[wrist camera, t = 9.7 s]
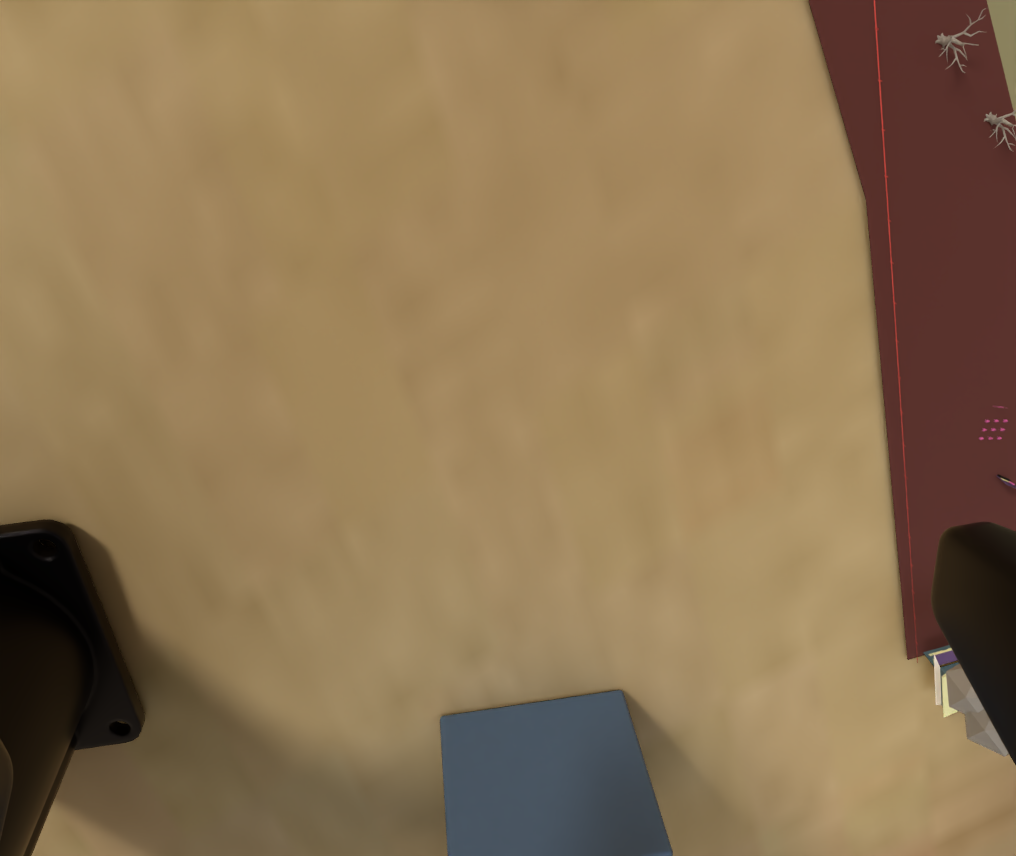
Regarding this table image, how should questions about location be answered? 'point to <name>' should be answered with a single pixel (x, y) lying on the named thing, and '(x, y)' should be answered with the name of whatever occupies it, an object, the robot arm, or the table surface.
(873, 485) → the table surface
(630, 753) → the blue block
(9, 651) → the robot arm
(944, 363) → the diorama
